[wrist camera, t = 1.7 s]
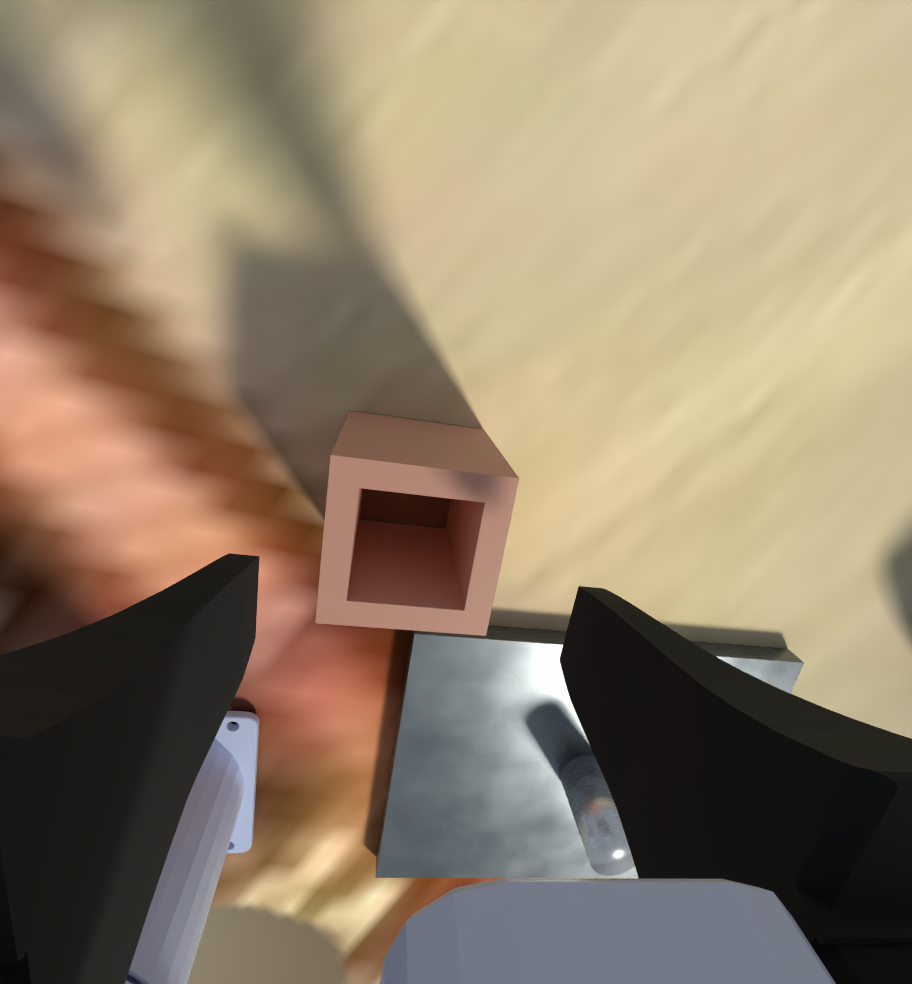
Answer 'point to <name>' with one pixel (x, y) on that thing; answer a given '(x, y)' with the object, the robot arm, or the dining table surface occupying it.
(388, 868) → the stand
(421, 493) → the collar
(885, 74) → the dining table surface
